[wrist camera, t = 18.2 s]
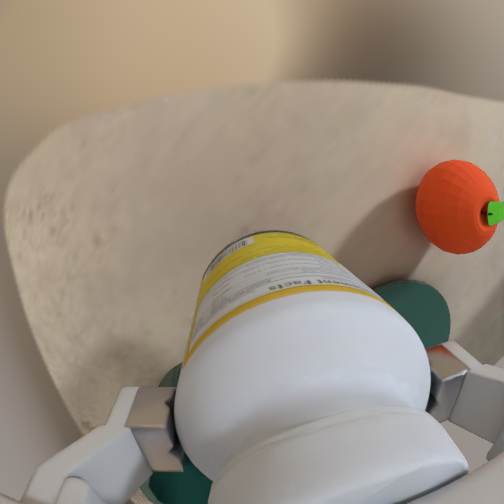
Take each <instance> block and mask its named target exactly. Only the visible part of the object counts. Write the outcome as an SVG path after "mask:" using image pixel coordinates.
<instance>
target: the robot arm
mask: <svg viewBox="0 0 504 504" xmlns="http://www.w3.org/2000/svg"><path fill="white" fill-rule="evenodd" d="M425 351H426V353H427V356H428V360H429V366H430V376H431V385H430V393H429V398H428V402H427V406H426V409H425V411H426V412H427V413H429V414H430V415H431V416H433V417H434V419H435V420H436V421H438V422H439V423H441V422H444V421H446V420H449V421H450V422H452V423H454V424H456V425H458V426H459V427H461V428H463V429H465V430H467V431H469V432H471V433H473V434H475V435H477V436H479V437H481V438H484V439H485V440H487V441H489V442H491V443H493V446H492V447H491V449H490V450H489V452H488V453H487V457H486V459H487V460H488V462H487V463H485V464H483V465H482V466H480V467H479V468H477V469H475V470H474V471H472V472H470V473H468V474H467V475H465V476H463V477H461V478H459V479H458V480H456V481H454V482H452V483H450V484H448V485H446V486H444V487H442V488H440V489H438V490H436V491H434V492H432V493H429V494H427V495H425V496H423V497H421V498H418V499H416V500H414V501H411V502H409V503H406V504H504V368H500V367H496V366H493V365H489V364H484V365H482V364H481V363H480V362H479V361H477V360H476V359H475V358H474V357H473V356H472V355H470V354H469V353H468V352H467V351H466V350H465V349H463V348H462V347H461V346H460V345H459V344H457V343H456V342H455V341H451V340H450V341H447V342H444V343H441V344H438V345H437V346H433V347H430V348H427V349H425ZM176 390H177V388H176V387H132V386H124V387H122V388H121V389H120V391H119V393H118V396H117V398H116V400H115V403H114V405H113V407H112V410H111V412H110V414H109V417H108V419H107V421H106V424H105V426H103V425H99V426H98V427H96V428H95V429H93V430H92V431H90V432H89V433H88V434H86V435H84V436H83V437H81V438H80V439H78V440H77V441H75V442H74V443H72V444H71V445H69V446H68V447H66V448H65V449H63V450H61V451H60V452H58V453H57V454H55V455H54V456H52V457H50V458H49V459H47V460H46V461H44V462H42V463H41V464H39V465H38V466H37V467H36V469H35V471H34V473H33V475H32V477H31V479H30V481H29V483H28V485H27V488H26V490H25V492H24V494H23V496H22V498H21V500H20V501H17V500H15V499H13V498H10V497H9V496H6V495H4V494H2V493H0V504H124V503H125V502H126V501H127V500H128V499H129V498H130V497H131V496H132V495H133V494H134V493H135V492H136V491H137V490H138V489H139V488H140V487H141V486H142V484H143V483H144V482H145V481H146V480H147V479H148V478H149V477H150V476H151V475H152V473H153V472H152V471H156V472H184V465H185V457H186V453H185V451H184V449H183V447H182V445H181V443H180V441H179V438H178V435H177V432H176V427H175V420H174V403H175V396H176Z"/></svg>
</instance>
